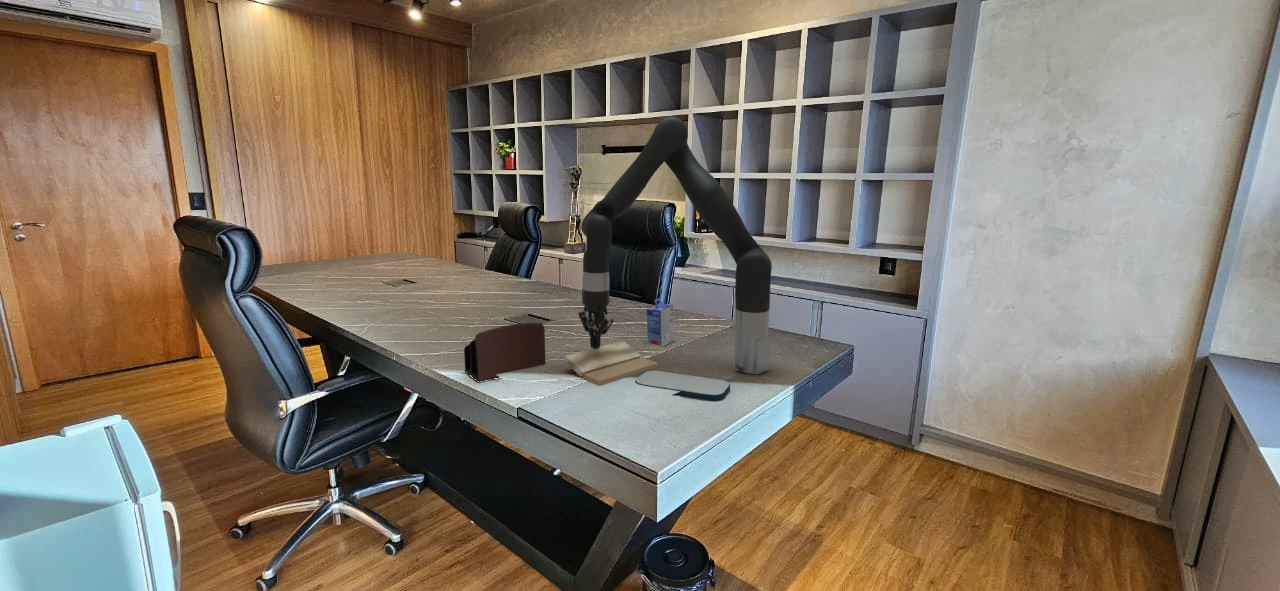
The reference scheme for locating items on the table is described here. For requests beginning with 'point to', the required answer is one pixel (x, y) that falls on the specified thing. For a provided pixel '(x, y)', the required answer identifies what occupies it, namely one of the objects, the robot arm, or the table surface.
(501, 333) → the letter holder
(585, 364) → the ash plank
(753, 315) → the robot arm
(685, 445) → the table surface
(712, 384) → the external hard drive
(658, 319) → the ink cartridge box
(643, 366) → the tan rectangular board
